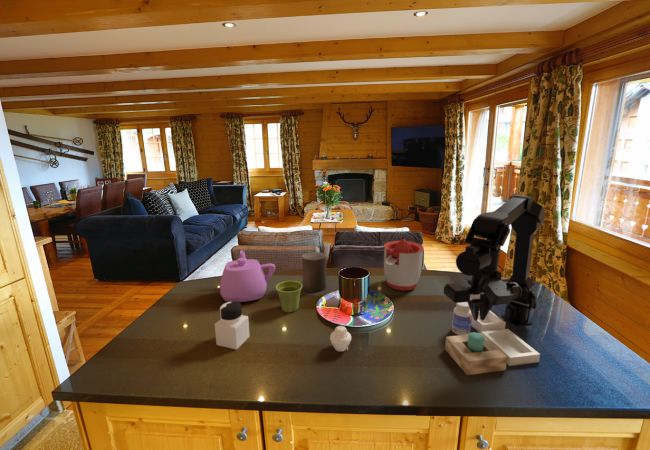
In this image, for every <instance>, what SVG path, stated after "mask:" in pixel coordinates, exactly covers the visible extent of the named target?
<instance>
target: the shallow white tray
mask: <svg viewBox="0 0 650 450" xmlns="http://www.w3.org/2000/svg"><path fill="white" fill-rule="evenodd" d="M481 333H482V334H483V335H484V336H485V337H486V338H487V339H488V340H490V341H491V342H492V343H493V344H494V345H495V346H496V347H497V348H498V349H500V350H501V351H502V352H503V353H504V354H505V355H506V356H507V364H506V365H507V366H508V367H511V366H512V367H513V366H520V365H526V364H528V365H529V364H534V363H535V364H536V363H539V362H540V356H541V353H540V352H538V351H537V350H536V349H534V348H533V347H532V346H531V345H529V344H528V343H526V342H525V341H524V340H523V339H522V338H521V337H520V336H518V335H517V334H515V333H514V332H512V330H510V329H509V328H505V329H502V330H493V331H484V332H481Z"/></svg>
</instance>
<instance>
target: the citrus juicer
mask: <svg viewBox="0 0 650 450" xmlns="http://www.w3.org/2000/svg"><path fill="white" fill-rule="evenodd" d="M383 248H384V249H383V251H384V252H383V274H384V278H385V282H386V284H387V286H388V287H389V288H391V289H394V290H397V291H402V292H406V291H411V290H414V289H415V288H416V287H417V286H418V283H419V280H420V277H421V274H422V273H421V272H422V266H423V253H424V252H423V251H424V246H423V245H422V244H420V243H417V242H415V241H408V240H407V239H404V238H403V239H401V240H393V241H387V242H386V243H384V245H383Z"/></svg>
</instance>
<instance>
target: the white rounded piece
mask: <svg viewBox="0 0 650 450" xmlns="http://www.w3.org/2000/svg"><path fill="white" fill-rule="evenodd" d="M329 341H330V342H331V345H332V346H333V348H334V350H335V351H337V352H344V351H346V350H347V348H348V347H349V345H350V344H351V341H352V334H351V333H350V332H349V331H348V329H347V328H346V327H345V326H343V325H337V326H336V327H335V328H334V331H332V332H331V334H330V335H329Z"/></svg>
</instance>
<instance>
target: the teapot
mask: <svg viewBox="0 0 650 450" xmlns="http://www.w3.org/2000/svg"><path fill="white" fill-rule="evenodd" d="M223 268H224V269H223V271H222V274H221V278H220V284H219V285H220V286H219V293H220V296H221V298H222V299H223V300H224V302H226V303H227V302H238V303H242V302H243V303H245V302H251V301H256V300H259V299H262V298H263V297H264V296H265V294H266V292H267V288H268V287H267V286H268V285H267V283H268V282H269V280H270V279H271V277H272V276H273V274H274V273H275V270H276V265H275V264H274V263H271V262H270V263H264V264H263V263H262V264H260V262H259V260H257V259H253V258H252V259H251V258H250V259H249V258H248V259H247V257H246V253H245V250H243V249H241V250H240V251H239V257H238V258H237V259H236V260H230V261H228V262H227V263H225V266H224V267H223ZM263 269H269V270H268V273H267V275H265V272H264V270H263Z"/></svg>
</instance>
